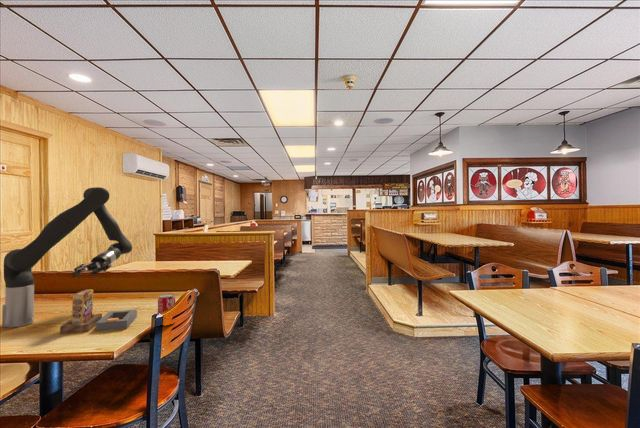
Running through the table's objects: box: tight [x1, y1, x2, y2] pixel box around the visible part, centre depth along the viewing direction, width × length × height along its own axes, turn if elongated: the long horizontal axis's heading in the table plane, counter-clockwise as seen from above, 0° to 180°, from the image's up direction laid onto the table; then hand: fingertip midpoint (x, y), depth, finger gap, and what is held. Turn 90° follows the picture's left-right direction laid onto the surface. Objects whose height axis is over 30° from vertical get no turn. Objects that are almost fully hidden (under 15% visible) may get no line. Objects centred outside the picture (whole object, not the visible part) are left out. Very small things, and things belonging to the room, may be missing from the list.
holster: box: [59, 313, 103, 335], centre depth 135 cm, size 10×15×3 cm, turn 18°
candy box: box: [71, 289, 94, 324], centre depth 135 cm, size 9×4×15 cm, turn 13°
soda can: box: [157, 293, 176, 314], centre depth 139 cm, size 7×7×13 cm
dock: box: [95, 308, 138, 332], centre depth 139 cm, size 12×16×4 cm
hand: (83, 274), depth 143 cm, fingers open, 8 cm apart
